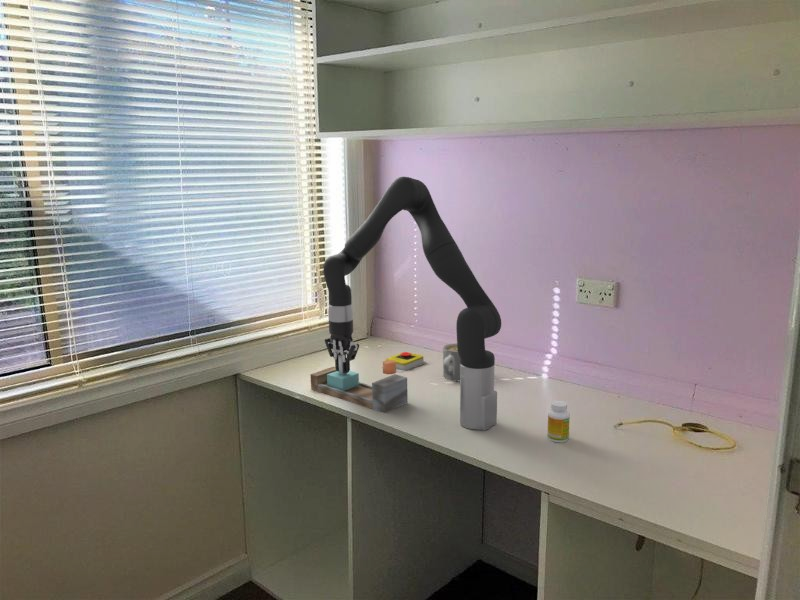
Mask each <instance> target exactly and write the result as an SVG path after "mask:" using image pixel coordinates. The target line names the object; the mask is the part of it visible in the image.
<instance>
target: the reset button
mask: <svg viewBox="0 0 800 600" xmlns="http://www.w3.org/2000/svg"><path fill="white" fill-rule="evenodd" d="M382 367H383V368H382V374H385V375H394V374H396V373H397V372H396V361H393V360H387V361H386V360H384V361H382Z"/></svg>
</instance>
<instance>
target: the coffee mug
mask: <svg viewBox="0 0 800 600" xmlns="http://www.w3.org/2000/svg"><path fill="white" fill-rule="evenodd" d="M442 350H443V351H442V352H443V353H442V355H443V357H442V365H443V366H442V369H443V370H442V377H443V376H444V377H445V378H444V377H443V378H444V379H446V378H447V379H446V380H449V379H450V380H449V381H454V380H460V356H459V354H458V349H457V342H454V343H448V344H446V345H443V348H442Z"/></svg>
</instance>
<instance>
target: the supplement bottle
mask: <svg viewBox="0 0 800 600" xmlns="http://www.w3.org/2000/svg"><path fill="white" fill-rule="evenodd" d="M550 404H551V405H550V408H551V409H549V411H548V416H547V439H548V440H549V441H551V442H554V443H566V442H567V441H568V440H569V438H570V420H571V419H570V418H571V417H570V412H569V411H568V403H567V402H566V401H562V400H554V401H552V402H551V403H550Z"/></svg>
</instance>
